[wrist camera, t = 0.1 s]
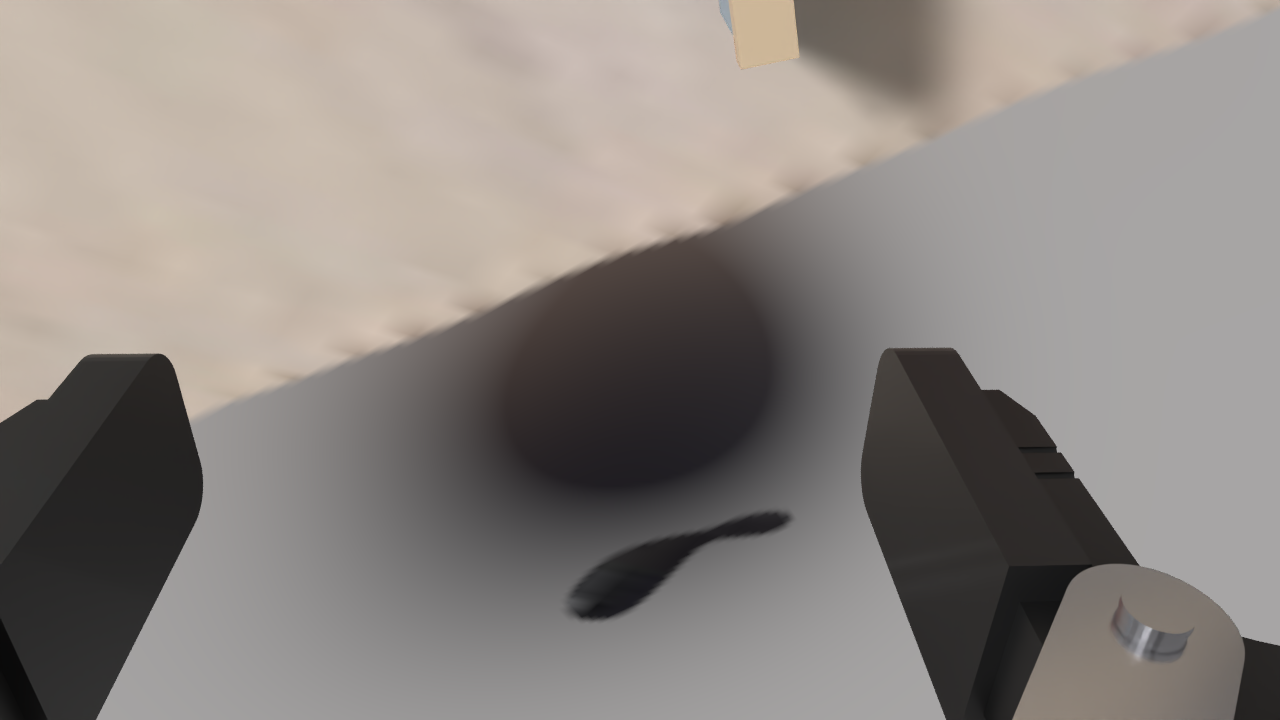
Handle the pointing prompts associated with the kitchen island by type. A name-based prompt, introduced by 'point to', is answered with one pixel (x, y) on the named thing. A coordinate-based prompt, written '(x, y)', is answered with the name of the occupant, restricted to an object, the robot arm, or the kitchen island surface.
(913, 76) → the kitchen island surface
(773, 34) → the gate
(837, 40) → the kitchen island surface
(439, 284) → the kitchen island surface
